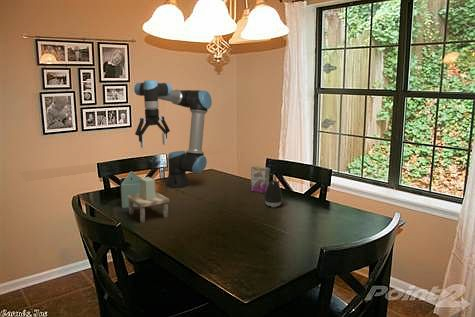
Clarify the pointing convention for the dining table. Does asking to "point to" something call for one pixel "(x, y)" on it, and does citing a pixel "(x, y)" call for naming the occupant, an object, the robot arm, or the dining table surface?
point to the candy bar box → (259, 178)
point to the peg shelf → (147, 204)
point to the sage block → (147, 188)
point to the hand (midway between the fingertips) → (153, 146)
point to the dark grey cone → (273, 194)
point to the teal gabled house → (130, 188)
